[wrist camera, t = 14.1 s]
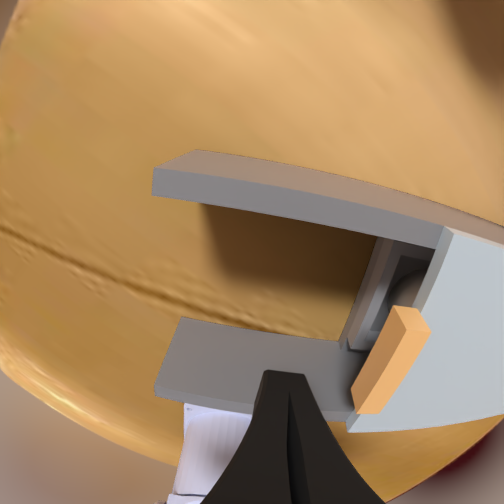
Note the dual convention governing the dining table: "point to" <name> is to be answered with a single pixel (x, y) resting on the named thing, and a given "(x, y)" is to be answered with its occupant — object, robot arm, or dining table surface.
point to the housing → (316, 211)
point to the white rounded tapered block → (406, 289)
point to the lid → (439, 345)
